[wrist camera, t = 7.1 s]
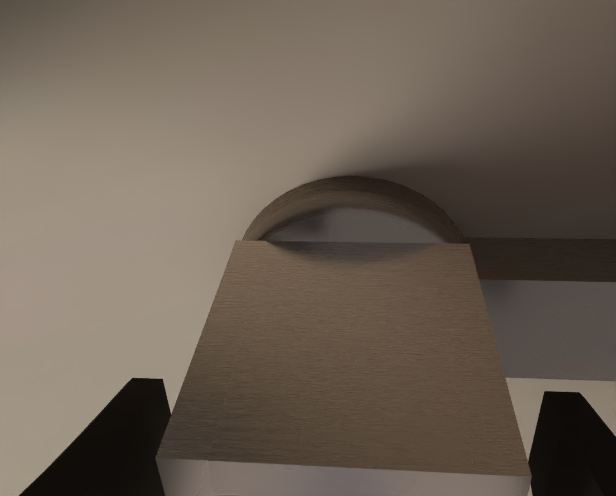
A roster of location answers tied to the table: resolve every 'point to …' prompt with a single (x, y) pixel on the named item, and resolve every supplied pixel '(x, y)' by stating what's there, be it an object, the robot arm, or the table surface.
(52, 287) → the table surface
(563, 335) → the orange and grey piece
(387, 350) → the white wooden cube
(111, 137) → the table surface
